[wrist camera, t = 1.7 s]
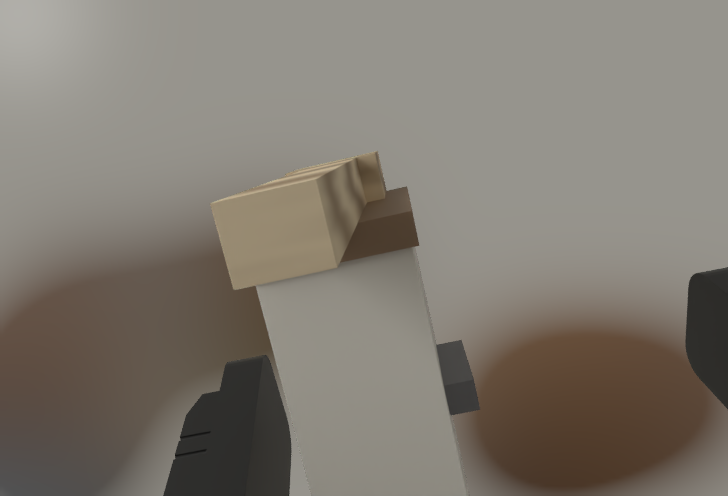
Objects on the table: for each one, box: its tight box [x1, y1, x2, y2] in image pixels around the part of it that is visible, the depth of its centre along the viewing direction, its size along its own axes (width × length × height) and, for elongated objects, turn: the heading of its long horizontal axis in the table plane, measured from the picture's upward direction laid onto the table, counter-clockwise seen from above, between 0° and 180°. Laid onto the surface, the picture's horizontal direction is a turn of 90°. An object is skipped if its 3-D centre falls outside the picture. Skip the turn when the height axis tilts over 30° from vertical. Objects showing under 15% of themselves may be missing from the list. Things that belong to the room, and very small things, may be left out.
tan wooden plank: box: [210, 151, 386, 290], centre depth 28 cm, size 22×5×2 cm, turn 177°
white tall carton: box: [256, 187, 480, 496], centre depth 35 cm, size 13×9×32 cm
